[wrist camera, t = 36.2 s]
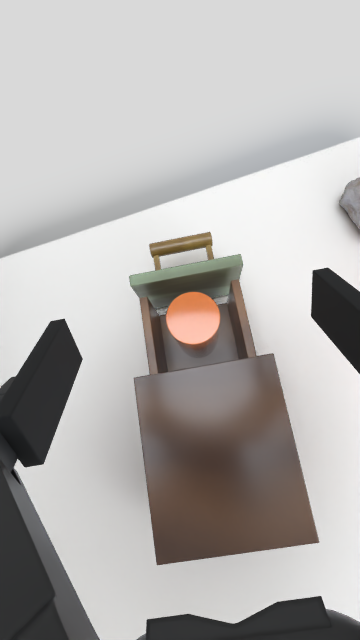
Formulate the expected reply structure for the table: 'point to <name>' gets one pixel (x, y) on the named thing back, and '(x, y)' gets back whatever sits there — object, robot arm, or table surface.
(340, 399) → the table surface
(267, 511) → the cabinet
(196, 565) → the table surface
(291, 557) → the table surface
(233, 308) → the drawer
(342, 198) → the stone
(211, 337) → the canister
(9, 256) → the table surface
